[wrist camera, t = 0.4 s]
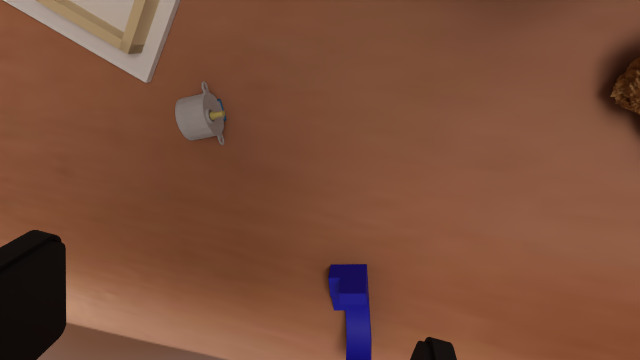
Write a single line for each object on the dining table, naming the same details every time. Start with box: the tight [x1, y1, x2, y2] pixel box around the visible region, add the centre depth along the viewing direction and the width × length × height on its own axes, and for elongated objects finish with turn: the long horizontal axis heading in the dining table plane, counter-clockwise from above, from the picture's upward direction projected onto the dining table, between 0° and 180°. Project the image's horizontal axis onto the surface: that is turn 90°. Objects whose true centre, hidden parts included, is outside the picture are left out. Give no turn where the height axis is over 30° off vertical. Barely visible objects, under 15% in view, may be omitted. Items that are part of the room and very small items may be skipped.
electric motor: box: [175, 82, 226, 145], centre depth 41 cm, size 7×5×5 cm
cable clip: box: [329, 264, 371, 360], centre depth 48 cm, size 12×4×6 cm, turn 5°
